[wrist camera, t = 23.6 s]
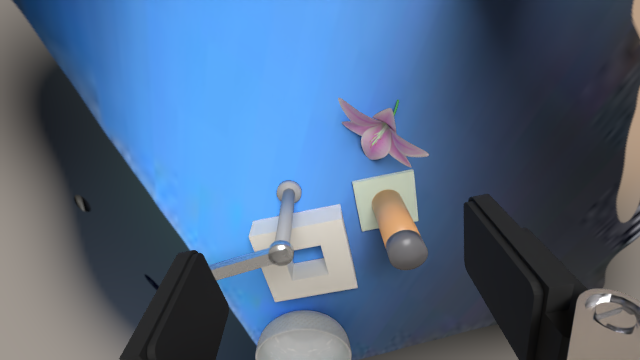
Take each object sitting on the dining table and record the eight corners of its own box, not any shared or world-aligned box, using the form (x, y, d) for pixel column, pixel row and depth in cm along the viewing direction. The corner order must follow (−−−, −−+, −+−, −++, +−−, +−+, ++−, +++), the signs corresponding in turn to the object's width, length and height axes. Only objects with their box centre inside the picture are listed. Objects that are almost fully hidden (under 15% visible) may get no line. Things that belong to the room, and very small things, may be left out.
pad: (412, 169, 47) (413, 170, 47) (417, 218, 51) (418, 220, 51) (352, 181, 48) (352, 183, 47) (361, 229, 52) (362, 231, 51)
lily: (334, 71, 42) (314, 120, 36) (430, 56, 37) (423, 110, 31) (357, 139, 50) (343, 187, 44) (437, 134, 45) (433, 188, 39)
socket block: (332, 171, 47) (338, 224, 35) (354, 270, 56) (365, 338, 44) (241, 190, 48) (217, 247, 37) (277, 284, 57) (268, 354, 46)
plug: (400, 186, 48) (426, 236, 37) (403, 212, 50) (428, 266, 39) (369, 192, 48) (387, 244, 37) (373, 217, 50) (391, 273, 40)
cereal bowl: (262, 352, 66) (257, 388, 60) (258, 294, 59) (252, 328, 52) (344, 353, 67) (347, 388, 61) (351, 295, 59) (355, 329, 53)
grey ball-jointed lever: (288, 237, 36) (286, 250, 34) (297, 255, 37) (296, 269, 35) (174, 271, 38) (166, 285, 36) (186, 287, 39) (179, 302, 37)
